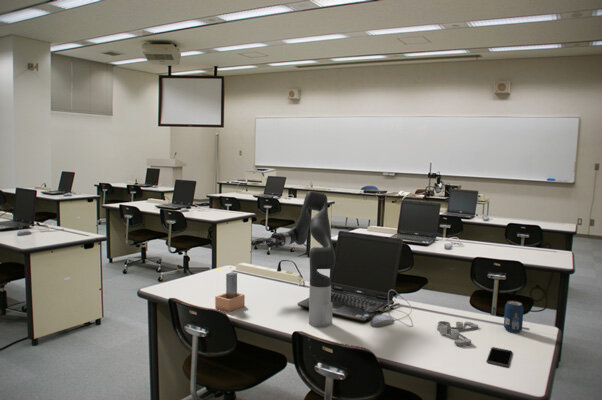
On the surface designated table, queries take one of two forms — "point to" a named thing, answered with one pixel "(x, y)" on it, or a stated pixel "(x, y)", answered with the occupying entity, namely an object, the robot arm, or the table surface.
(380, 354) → the table surface
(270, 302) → the table surface
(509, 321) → the soda can
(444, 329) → the pulley system
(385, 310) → the walkie-talkie
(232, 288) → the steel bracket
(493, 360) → the smartphone
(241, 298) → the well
